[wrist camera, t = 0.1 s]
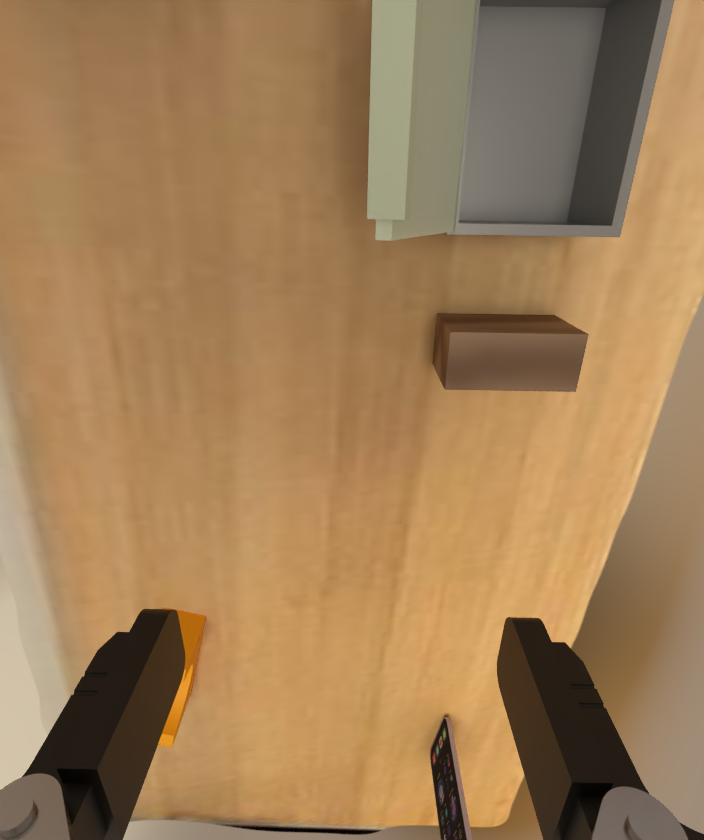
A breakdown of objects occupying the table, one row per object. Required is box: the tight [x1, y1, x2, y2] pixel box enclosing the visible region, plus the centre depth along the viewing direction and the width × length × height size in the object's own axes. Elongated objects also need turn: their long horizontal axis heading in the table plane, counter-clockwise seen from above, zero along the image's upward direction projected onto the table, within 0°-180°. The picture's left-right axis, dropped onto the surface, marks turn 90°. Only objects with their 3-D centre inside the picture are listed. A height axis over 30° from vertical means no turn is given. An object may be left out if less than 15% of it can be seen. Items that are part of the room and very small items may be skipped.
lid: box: [367, 0, 477, 241], centre depth 20 cm, size 13×11×2 cm
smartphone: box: [430, 717, 472, 840], centre depth 50 cm, size 8×1×15 cm, turn 169°
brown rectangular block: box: [433, 313, 588, 392], centre depth 35 cm, size 4×9×6 cm, turn 89°
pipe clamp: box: [158, 608, 206, 747], centre depth 49 cm, size 12×4×6 cm, turn 165°
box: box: [444, 0, 674, 237], centre depth 28 cm, size 13×10×7 cm
